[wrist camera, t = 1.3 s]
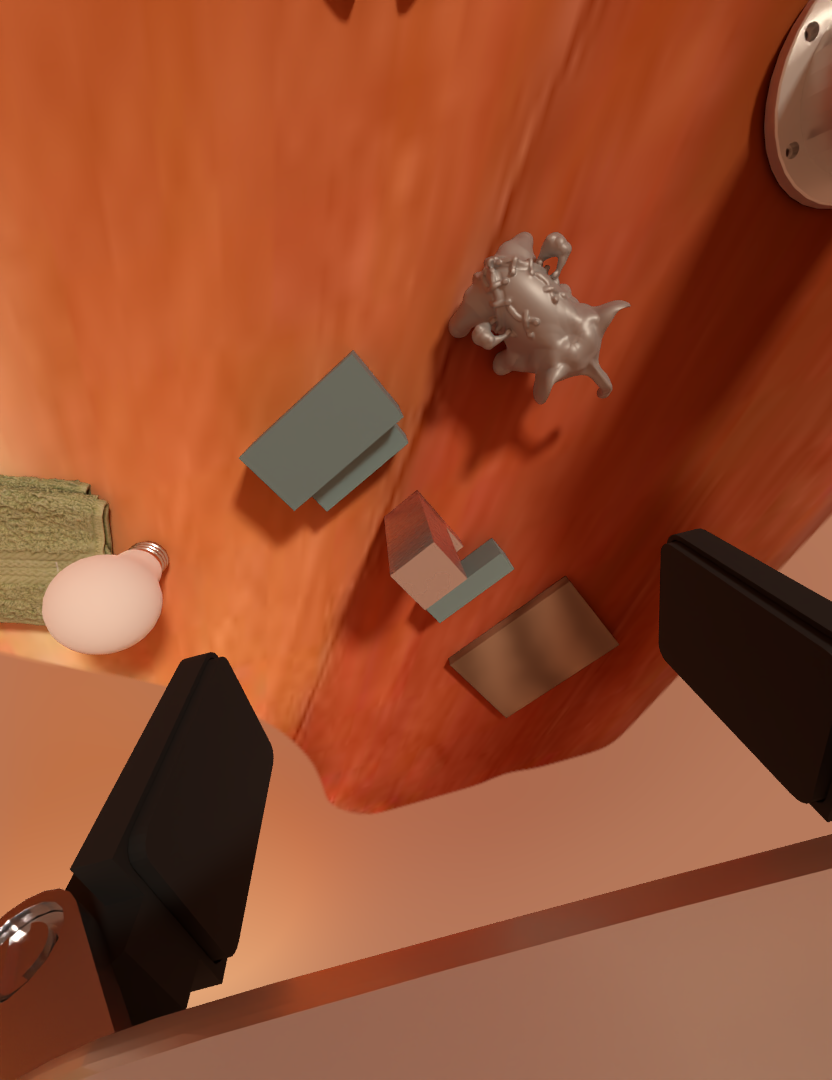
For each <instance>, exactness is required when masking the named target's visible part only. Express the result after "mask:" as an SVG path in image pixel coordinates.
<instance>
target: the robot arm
mask: <svg viewBox="0 0 832 1080" xmlns="http://www.w3.org/2000/svg"><path fill="white" fill-rule="evenodd" d="M764 132H765V144H766V152H767V156H768V159H769V163H770V167H771V170H772V172H773V174H774V176H775V178H776V179H777V181H778V183H779V185H780V186H781V187H782V188H783V190H784V191H785V192H786V193H787V194H788V195H789V196H790V197H791V198H793V199H794V200H796V201H798V202H799V203H801V204H802V205H806V206H809V207H813V208H817V209H832V0H809V2H808V3H807V4H806V6H805V8H804V9H803V11H802V12H801V14H800V15H799V17H798V19H797V20H796V22H795V23H794V25H793V26H792V28H791V30H790V33H789V35H788V37H787V39H786V41H785V43H784V45H783V47H782V49H781V51H780V54H779V57H778V60H777V63H776V66H775V69H774V72H773V74H772V77H771V81H770V86H769V91H768V96H767V101H766V109H765V123H764ZM659 648H660V652H661V654H662V656H663V658H664V659H665V661H666V662H667V663H668V664H669V665H670V666H671V667H672V668H673V669H674V670H675V671H676V673H677V674H678V675H679V676H680V677H681V678H682V679H683V680H684V681H685V682H686V683H687V684H688V685H689V686H690V687H691V688H692V689H693V691H694V692H695V693H696V694H697V695H698V696H699V697H700V698H701V699H702V700H703V701H704V702H705V703H706V704H707V705H708V706H709V708H711V710H713V712H714V713H715V714H716V715H717V716H718V717H719V718H720V719H721V720H722V721H723V722H724V723H725V724H726V726H728V728H729V729H730V730H731V731H732V732H733V733H734V734H735V735H736V736H737V737H738V738H739V739H740V740H741V741H742V742H743V743H744V744H745V746H746V747H747V748H748V749H749V750H750V751H751V752H752V753H753V754H754V755H755V756H756V757H757V758H758V759H759V760H760V762H761V763H762V764H763V765H764V766H765V767H766V768H767V769H768V770H769V771H770V772H771V773H772V774H773V775H774V776H775V777H776V779H777V780H778V781H779V782H781V784H782V785H783V786H784V787H785V788H786V789H787V790H788V791H789V792H790V793H791V794H792V795H793V796H794V797H795V798H796V799H797V800H799V801H800V802H803V803H806V804H807V803H809V804H810V805H811V806H812V807H813V808H814V809H815V810H816V811H817V812H818V813H819V814H820V815H821V816H822V817H823V818H824V819H825V820H826V821H827V822H830V821H832V602H831V601H830V600H828V599H826V598H824V597H822V596H821V595H819V594H817V593H815V592H813V591H812V590H810V589H808V588H806V587H805V586H803V585H801V584H800V583H798V582H796V581H794V580H792V579H791V578H789V577H787V576H785V575H784V574H782V573H780V572H778V571H777V570H775V569H773V568H771V567H769V566H768V565H766V564H764V563H762V562H761V561H759V560H757V559H755V558H754V557H752V556H750V555H748V554H746V553H745V552H743V551H741V550H739V549H738V548H736V547H734V546H732V545H731V544H729V543H727V542H725V541H723V540H722V539H720V538H718V537H716V536H715V535H713V534H711V533H709V532H707V531H706V530H703V529H694V530H690V531H687V532H683V533H679V534H675V535H672V536H670V537H669V539H668V541H667V544H664V545H663V546H662V548H661V569H660V611H659ZM272 766H273V750H272V746H271V743H270V742H269V740H268V738H267V736H266V734H265V732H264V730H263V728H262V726H261V724H260V722H259V720H258V718H257V716H256V714H255V712H254V710H253V708H252V706H251V705H250V703H249V701H248V699H247V697H246V695H245V693H244V691H243V689H242V687H241V685H240V683H239V681H238V679H237V677H236V675H235V673H234V672H233V670H232V668H231V666H230V664H229V662H228V660H227V659H226V658H225V657H218V656H217V655H216V654H215V653H212V652H210V653H206V654H202V655H198V656H194V657H190V658H186V659H184V660H182V661H181V662H180V664H179V666H178V668H177V669H176V671H175V673H174V675H173V677H172V679H171V681H170V683H169V684H168V686H167V688H166V690H165V692H164V694H163V696H162V698H161V700H160V701H159V703H158V705H157V707H156V709H155V711H154V713H153V714H152V716H151V718H150V720H149V722H148V724H147V726H146V728H145V730H144V731H143V733H142V735H141V737H140V739H139V741H138V743H137V745H136V746H135V748H134V750H133V752H132V754H131V756H130V758H129V759H128V761H127V763H126V765H125V767H124V769H123V771H122V773H121V774H120V776H119V778H118V780H117V782H116V784H115V786H114V788H113V789H112V791H111V793H110V795H109V797H108V799H107V801H106V803H105V804H104V806H103V808H102V810H101V812H100V814H99V816H98V818H97V819H96V821H95V823H94V825H93V827H92V829H91V831H90V833H89V834H88V836H87V838H86V840H85V842H84V844H83V846H82V848H81V849H80V851H79V853H78V855H77V857H76V859H75V861H74V863H73V865H72V866H71V868H70V870H71V871H72V872H73V873H74V874H73V876H72V878H71V880H70V882H69V884H68V886H67V888H66V890H62V889H54V890H48V891H44V892H41V893H39V894H37V895H35V896H33V897H31V898H28V899H26V900H25V901H23V902H22V903H20V904H19V905H17V906H16V907H15V908H13V909H12V910H10V911H9V912H7V913H6V914H5V915H4V916H3V917H2V918H1V919H0V1080H832V834H831V835H827V836H823V837H819V838H815V839H811V840H808V841H804V842H800V843H796V844H792V845H789V846H785V847H781V848H777V849H773V850H769V851H765V852H762V853H758V854H754V855H750V856H746V857H743V858H739V859H735V860H731V861H727V862H723V863H720V864H716V865H712V866H708V867H705V868H700V869H697V870H693V871H689V872H685V873H681V874H677V875H674V876H670V877H666V878H662V879H658V880H654V881H651V882H647V883H643V884H639V885H636V886H632V887H629V888H624V889H621V890H617V891H613V892H609V893H606V894H602V895H598V896H594V897H591V898H587V899H583V900H579V901H576V902H572V903H568V904H564V905H561V906H557V907H553V908H550V909H546V910H542V911H539V912H535V913H531V914H527V915H523V916H520V917H516V918H513V919H508V920H505V921H501V922H497V923H493V924H490V925H486V926H482V927H479V928H475V929H471V930H468V931H464V932H460V933H456V934H452V935H449V936H445V937H441V938H438V939H434V940H430V941H427V942H424V943H420V944H416V945H412V946H409V947H405V948H401V949H398V950H394V951H390V952H387V953H383V954H379V955H376V956H372V957H368V958H365V959H361V960H357V961H354V962H350V963H346V964H343V965H339V966H335V967H332V968H328V969H324V970H321V971H317V972H313V973H310V974H306V975H302V976H299V977H295V978H292V979H288V980H284V981H281V982H277V983H273V984H270V985H266V986H263V987H260V988H256V989H253V990H250V991H246V992H243V993H240V994H236V995H233V996H229V997H226V998H223V999H219V1000H216V1001H212V1002H209V1003H206V1004H202V1005H199V1006H196V1007H192V1008H189V1009H186V1008H187V1003H188V1000H189V996H190V992H192V991H196V990H200V989H203V988H207V987H211V986H214V985H218V984H222V982H223V976H224V971H225V967H226V961H227V958H228V957H231V956H233V954H234V953H235V951H236V949H237V946H238V942H239V938H240V932H241V927H242V922H243V917H244V912H245V907H246V901H247V896H248V891H249V886H250V881H251V875H252V870H253V865H254V860H255V855H256V849H257V844H258V839H259V833H260V829H261V824H262V818H263V813H264V808H265V803H266V797H267V792H268V787H269V782H270V777H271V772H272Z"/></svg>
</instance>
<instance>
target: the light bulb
mask: <svg viewBox="0 0 832 1080" xmlns="http://www.w3.org/2000/svg"><path fill="white" fill-rule="evenodd" d="M168 564H169V557H168V554H167V552H166V550H165V549H164V548H163V547H162V546H161V545H159V544H157V543H155V542H150V541H145V542H139V543H136V544H135V545H133V546H132V547H131V548H130V549H129V550H127V551H124V552H122V553H120V554H119V555H107V554H106V555H95V556H91V557H87V558H83V559H80V560H78V561H76V562H74V563H72V564H70V565H69V566H67V567H65V568H64V569H63V570H62V571H60V572H59V573H58V574H57V575H56V576H55V577H54V579H53V580H52V581H51V583H50V584H49V585H48V588H47V590H46V592H45V595H44V597H43V605H42V615H43V620H44V622H45V624H46V627H47V629H48V631H49V632H50V634H51V635H52V636H53V637H54V638H55V639H56V640H57V641H58V642H59V643H61V644H62V645H63V646H65V647H67V648H69V649H71V650H74V651H76V652H79V653H84V654H93V655H102V654H111V653H115V652H119V651H122V650H125V649H127V648H129V647H131V646H133V645H135V644H136V643H138V642H139V641H141V640H142V639H143V638H145V637H146V636H147V634H148V633H149V632H150V631H151V630H152V629H153V628H154V626H155V624H156V622H157V620H158V618H159V616H160V614H161V610H162V603H163V598H162V592H161V588H160V585H159V581H160V579H161V575H162V572H164V570H165V569H166V568H167V566H168Z"/></svg>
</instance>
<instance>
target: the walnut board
mask: <svg viewBox="0 0 832 1080" xmlns="http://www.w3.org/2000/svg"><path fill="white" fill-rule="evenodd" d="M618 645H619V644H618V643H617V641H616V640H615V639H614V637H613V636H612V635H611V634H610V632H609V631H608V630H607V628H606V627H605V626H604V625H603V623H602V622H601V621H600V619H599V618H598V617H597V616H596V614H595V613H594V612H593V610H592V609H591V608H590V607H589V605H588V604H587V603H586V601H585V600H584V599H583V598H582V596H581V595H580V594H579V592H578V591H577V590H576V589H575V587H574V586H573V585H572V583H571V582H570V581H569V580H568V578H567V577H566V576H565V577H563V578H562V579H561V580H559V581H558V582H556V583H555V584H553V585H552V586H551V587H549V588H548V589H546V590H545V591H544V592H542V593H541V594H539V595H538V596H536V597H535V598H534V599H532V600H531V601H529V602H528V603H526V604H525V605H524V606H522V607H521V608H519V609H518V610H517V611H515V612H514V613H512V614H511V615H509V616H508V617H507V618H505V619H504V620H502V621H501V622H500V623H498V624H497V625H495V626H494V627H492V628H491V629H490V630H488V631H487V632H485V633H484V634H483V635H481V636H480V637H478V638H477V639H475V640H474V641H473V642H471V643H470V644H468V645H467V646H465V647H464V648H463V649H461V650H460V651H458V652H457V653H456V654H454V655H453V656H451V657H450V658H448V659H449V663H450V666H452V667H453V668H454V669H455V670H456V671H457V672H458V673H459V674H460V675H461V676H462V677H463V678H464V679H465V680H466V681H467V682H468V683H470V684H471V685H472V686H473V687H474V688H475V689H476V690H477V691H478V692H479V693H480V694H481V695H482V696H483V697H484V698H485V699H487V700H488V701H489V702H490V703H491V704H492V705H493V706H494V707H495V708H496V709H497V710H498V711H499V712H500V713H501V714H502V715H504V716H505V717H506V718H507V717H509V716H510V715H512V714H514V713H515V712H517V711H518V710H520V709H521V708H523V707H524V706H526V705H527V704H529V703H530V702H532V701H534V700H535V699H537V698H538V697H540V696H541V695H543V694H544V693H546V692H547V691H549V690H550V689H552V688H554V687H555V686H557V685H558V684H560V683H561V682H563V681H564V680H566V679H567V678H569V677H570V676H572V675H573V674H575V673H577V672H578V671H580V670H581V669H583V668H584V667H586V666H587V665H589V664H590V663H592V662H593V661H595V660H597V659H598V658H600V657H601V656H603V655H604V654H606V653H607V652H609V651H610V650H612V649H613V648H615V647H617V646H618Z"/></svg>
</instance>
